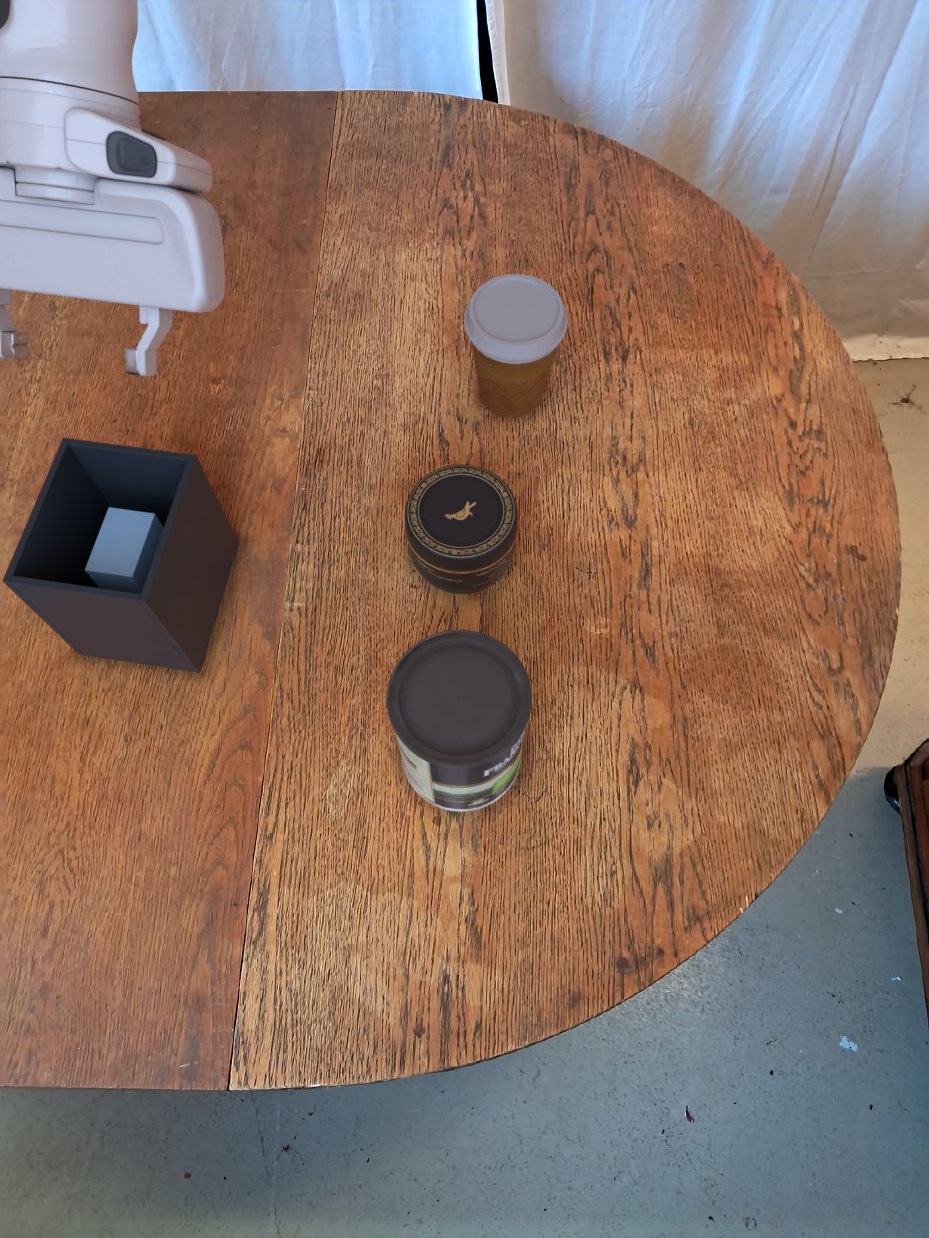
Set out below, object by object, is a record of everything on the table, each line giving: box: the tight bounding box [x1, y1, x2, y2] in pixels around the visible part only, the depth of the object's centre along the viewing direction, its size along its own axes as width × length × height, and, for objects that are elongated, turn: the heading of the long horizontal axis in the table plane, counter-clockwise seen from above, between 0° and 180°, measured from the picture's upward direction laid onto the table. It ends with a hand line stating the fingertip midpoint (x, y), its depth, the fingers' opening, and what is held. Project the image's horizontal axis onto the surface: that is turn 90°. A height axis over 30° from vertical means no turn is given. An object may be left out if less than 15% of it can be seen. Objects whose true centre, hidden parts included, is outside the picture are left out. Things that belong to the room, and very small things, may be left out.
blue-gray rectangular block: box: [85, 507, 164, 594], centre depth 77 cm, size 4×6×10 cm, turn 171°
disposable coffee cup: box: [463, 273, 569, 419], centre depth 86 cm, size 10×10×12 cm
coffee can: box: [385, 629, 533, 812], centre depth 70 cm, size 10×10×14 cm
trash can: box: [2, 437, 240, 673], centre depth 76 cm, size 11×13×15 cm
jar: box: [404, 464, 519, 595], centre depth 81 cm, size 10×10×8 cm
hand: (76, 366), depth 63 cm, fingers open, 8 cm apart
